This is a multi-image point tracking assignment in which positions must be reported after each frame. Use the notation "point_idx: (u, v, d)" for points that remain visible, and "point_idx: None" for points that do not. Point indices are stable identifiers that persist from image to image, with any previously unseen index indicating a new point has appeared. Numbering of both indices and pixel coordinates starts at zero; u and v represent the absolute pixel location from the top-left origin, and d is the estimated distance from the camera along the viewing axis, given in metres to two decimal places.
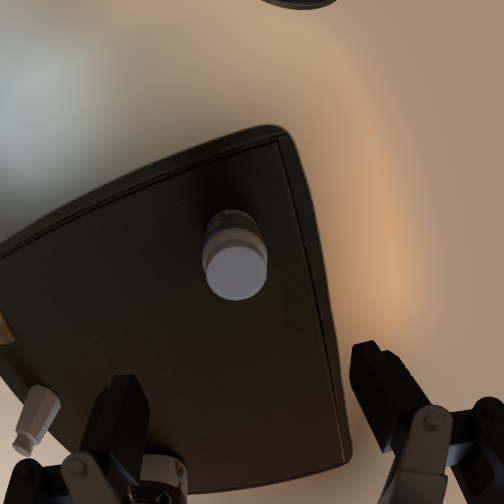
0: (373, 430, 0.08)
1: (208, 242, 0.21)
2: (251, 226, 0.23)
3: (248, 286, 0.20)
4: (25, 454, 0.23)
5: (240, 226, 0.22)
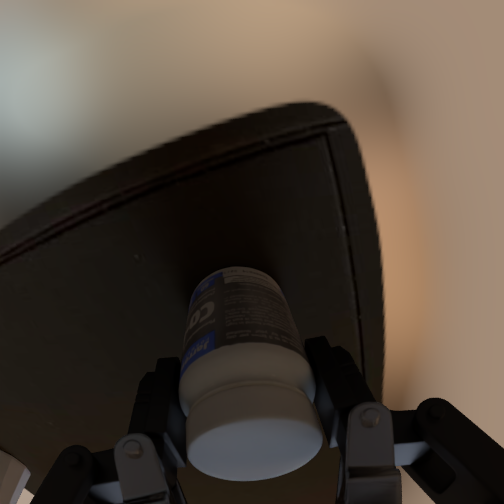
0: (322, 424, 0.09)
1: (188, 372, 0.09)
2: (281, 320, 0.11)
3: (280, 465, 0.08)
4: None
5: (260, 333, 0.09)
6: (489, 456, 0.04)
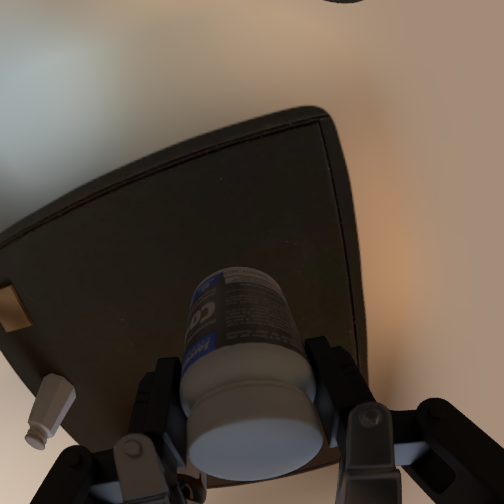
0: (322, 424, 0.09)
1: (189, 372, 0.09)
2: (282, 320, 0.11)
3: (280, 465, 0.08)
4: (38, 447, 0.23)
5: (260, 333, 0.09)
6: (489, 456, 0.04)
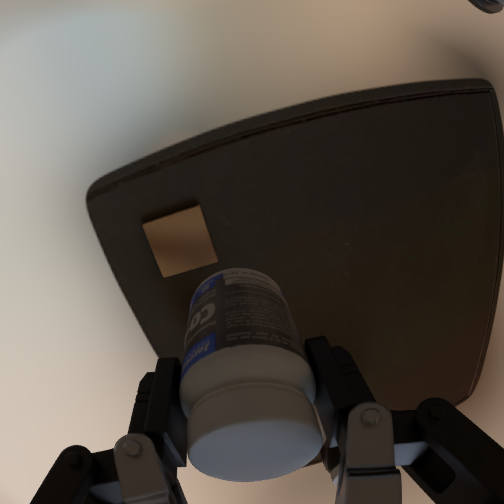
0: (322, 424, 0.09)
1: (189, 374, 0.09)
2: (282, 322, 0.11)
3: (280, 466, 0.08)
4: None
5: (260, 335, 0.09)
6: (489, 457, 0.04)
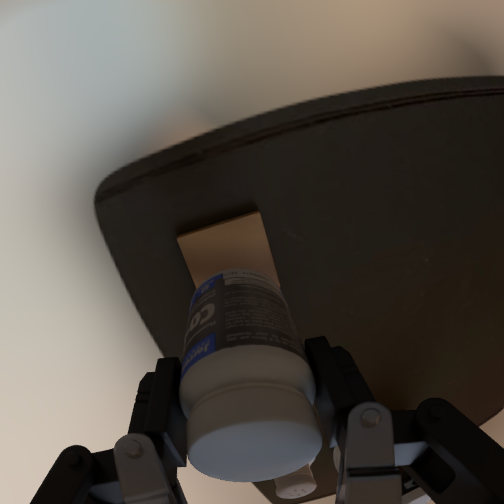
0: (322, 424, 0.09)
1: (189, 374, 0.09)
2: (281, 322, 0.11)
3: (280, 467, 0.08)
4: (303, 493, 0.16)
5: (260, 335, 0.09)
6: (489, 456, 0.04)
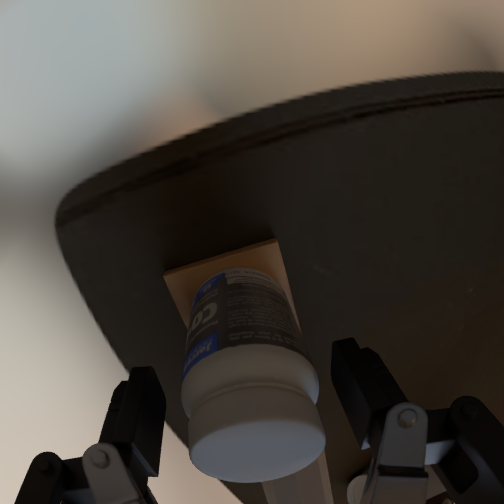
0: (352, 426, 0.09)
1: (191, 373, 0.09)
2: (284, 321, 0.11)
3: (282, 467, 0.08)
4: None
5: (263, 334, 0.09)
6: None
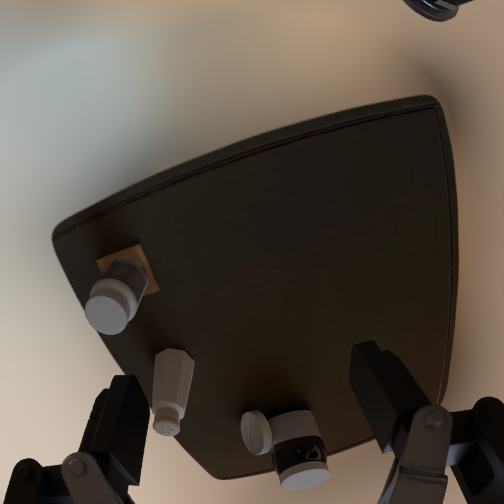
0: (373, 430, 0.08)
1: None
2: (127, 274, 0.27)
3: (115, 325, 0.24)
4: (171, 431, 0.26)
5: (114, 276, 0.26)
6: None
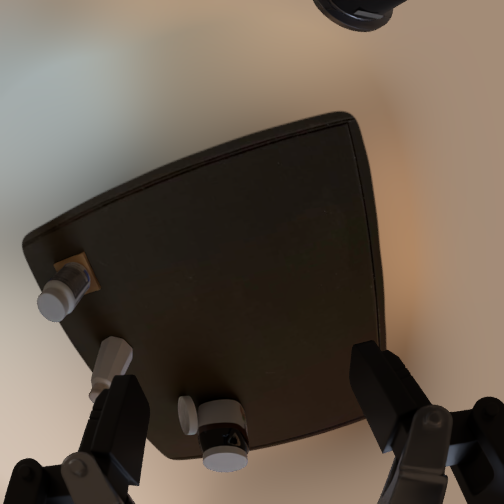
0: (373, 430, 0.08)
1: None
2: (69, 277, 0.33)
3: (57, 315, 0.30)
4: None
5: (58, 278, 0.31)
6: None
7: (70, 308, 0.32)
